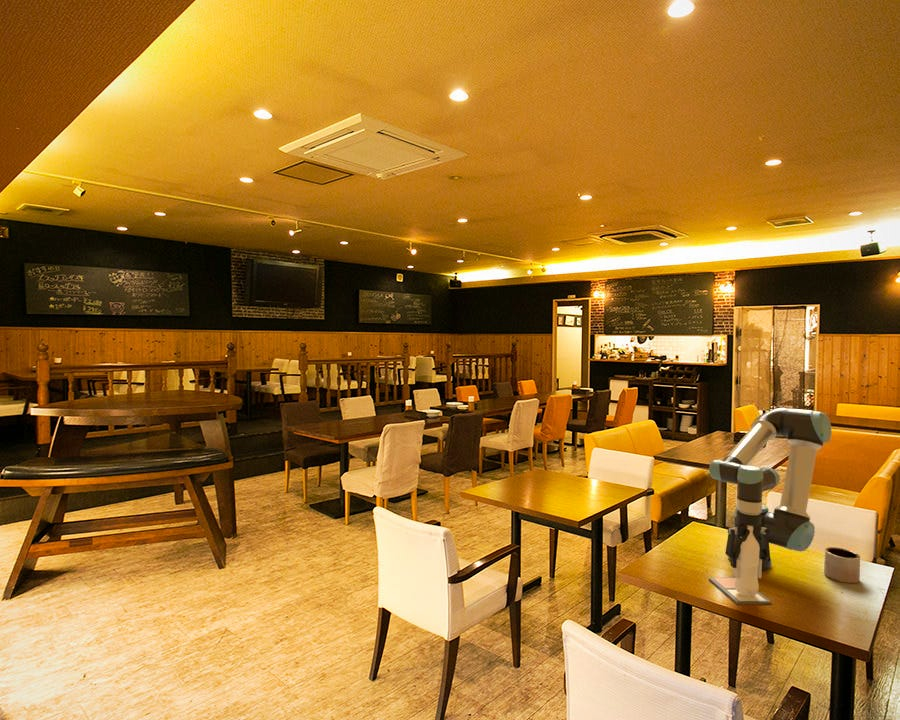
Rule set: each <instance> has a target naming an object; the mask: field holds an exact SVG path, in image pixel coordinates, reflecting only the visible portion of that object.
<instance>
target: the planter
mask: <svg viewBox="0 0 900 720" xmlns="http://www.w3.org/2000/svg"><path fill="white" fill-rule="evenodd" d="M823 563H824V564H823V574H824V575H825V576H827V578H829V579H831V580H834V581H836V582H840V583H845V584H857V583H858V582H860V578H861V555H860V554H858V553H857V552H855V551H853V550H850V549H847V548H841V547H836V546H835V547H826V548H825V549H824V561H823Z"/></svg>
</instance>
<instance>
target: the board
mask: <svg viewBox="0 0 900 720" xmlns="http://www.w3.org/2000/svg"><path fill="white" fill-rule="evenodd" d="M735 579H736V577H735V576H733V577H730V576H729V577H708V581H709V582H711V583H712V584H713V585H714V586H715V587H716V588H717V589H719V590H720V591H721V592H722V593H723V594H724V595H725V596H726V597H728V598H729V599H730V600H731V601H732V602H734V604H736V605H772V601H771V600H770V599H769V598H767V597H766V596H765V595H763V594H762V593H761V592H760V591H758V592H757V594H756V596H754V597H751V596H750V594H749V593H748V594H747V596H743V595H741V594H740V592H737V590H736V587H735Z"/></svg>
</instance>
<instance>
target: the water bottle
mask: <svg viewBox="0 0 900 720" xmlns="http://www.w3.org/2000/svg"><path fill="white" fill-rule="evenodd" d="M747 529H748V530H749V531H750V533H749V535H748V537H747V539H746V541H744V542H742V544H741V548H740V549H741V551H740V554H739V556H738V559H739V560H740V570H739V578H736V579H735V587H736V590H737V592H740V594H741V595H743V596H747V594H748V593H749V594H750V596H751V597H754V596H756V594H757V592H759V588H760V587H759V581H758V579H759V578H758V577H757V573H758V566H759V550H760V547H759V544H758V542H757V540H756V539H755V537H754V534H753V529H754V528H753V526H748V528H747ZM740 537H741V536H740ZM741 538H743V537H741Z"/></svg>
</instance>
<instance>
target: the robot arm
mask: <svg viewBox="0 0 900 720" xmlns="http://www.w3.org/2000/svg"><path fill="white" fill-rule="evenodd" d="M776 437H786V441H787V443H788V444H789V445H790V448H789V452H788V458H787V464H786V469H785V476H784V481H783V487H782V493H781V498H780V503H779V505H778V506H776V507H774V510H773V512H770V509H769V507H768V506H767V505H763V492H766V491H770V490H773V489H774V488H776V487H778V485H779V484H780V475H779V473H778V472H777V471H776V470H775V469H774V468H771V467H765V466H764V467H758V466H753V465H749V464H750V463H751V462H752V461H753V459H754V458H755V457H756V456H757V455H758V454H759V453H760V451H761V450H762V449H764V447H765V446H766V444H767V443H768V442H769V441H772V440H774V439H775V438H776ZM831 438H832V424H831V420H830V417H829V416H828V415H827V414H826V413H825V412H822V411H817V410H809V409H798V408H789V407H788V408H787V407H778V408H773V409H770V410H768V411H766V412H764V413H762V414H760V415H759V416H757V417H756V418H755V419H754V420H753V421H752V423H751V424H750V429H749V430H747V433H746V434H744V436H743V437H742V438H741V439H740V440H739V442H738V443H737V444H736V445H735V446H734V447H733V448H732V449H731V450H730V452H729V453H728V454H727V455H726V456H725V457H724V458H723V459H722V460H721V459H714V460H712V461H711V462H710V463H709V468H708V473H709V476H710V477H711V479H714V480H716V481H721V482H725V483H729V484H733V485H737V487H736V488H737V489H736V490H737V494H736V495H737V496H736V506H735V508H734V515H733V527H729V526H728V527H727V541H726V547H725V552H724V554H725V555H726V556H727V557H728V560H729V561H730V566H731V568H732V576H733V577H736V578H739V570H740V560H739V559H738V556H739V554H740V551H741V549H740V548H741V544H742V542H744V541H746V539H747V537H748V535H749V533H750V531H749V530H748V529H747V528H748V526H753V528H754V529H753V534H754V537H755V539H756V540H757V542H758V544H759V547H760V550H759V566H758V573H757V577H758V579H762V571H763V570H766V571H767V570H769V569H770V568H772V558H771V552H770V551H771V550H770V549H771V548H770V544H772V545H775V546H779V547H782V548H784V549H787V550H792V551H795V552H804V551H806V550H807V549H808V548H809V547H810V546H811V544H812V542H813V541H814V536H815V533H816V532H815V530H816V529H815V525H814V523H813V522H811V521H810V520H811V517H810V515H809V514H808V513H807V511H808V510H807V509H808V505H809V499H810V498H809V497H810V491H811V486H812V483H813V482H812V480H813V476H814V468H815V464H816V457H817V452H818V451H819V450H820V449H822V448H823V445H824V444H826V443H829V442H830V441H831ZM740 536H741V537H743V538H741V537H740Z"/></svg>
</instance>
